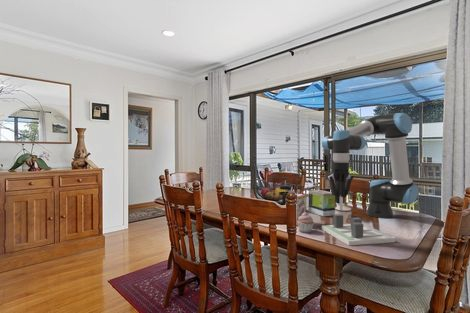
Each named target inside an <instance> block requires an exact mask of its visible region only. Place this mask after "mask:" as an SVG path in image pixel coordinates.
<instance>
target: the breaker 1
mask: <svg viewBox="0 0 470 313" xmlns="http://www.w3.org/2000/svg"><path fill="white" fill-rule="evenodd" d="M332 225H333V226H335V227H343V215H341V214H333V216H332Z"/></svg>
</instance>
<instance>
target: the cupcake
mask: <svg viewBox="0 0 470 313" xmlns="http://www.w3.org/2000/svg"><path fill="white" fill-rule="evenodd" d="M314 225H315V222H314V219H313V218H312V216H311V215H310V214H308V213H307V211H306V212H305V213H303V214H302V215H301V216H300V217H299V218H298V220H297V225H296V226H297V227H298V231H299V232H301V233H307V234H308V233H311V232H312V231H313V226H314Z"/></svg>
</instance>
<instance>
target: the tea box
mask: <svg viewBox="0 0 470 313" xmlns="http://www.w3.org/2000/svg"><path fill="white" fill-rule="evenodd" d="M335 207H336V196H334V195H332V192H331V191H327V190H321V189H313V190H308V212H309V213H312V214H315V215H318V216H321V217H331V216H332V217H333V214H335Z"/></svg>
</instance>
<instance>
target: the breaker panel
mask: <svg viewBox="0 0 470 313" xmlns="http://www.w3.org/2000/svg"><path fill="white" fill-rule="evenodd" d="M362 224H363V237H354V236H352V235H351V224H343V227H335V226H333V224H328V225H327V224H326V225H321V230H323V231H324V232H325V231H326V232H325V233H327V234H329V235H330V234H331V236H332V237H333V238H336V239H337V240H339V241H341V242H342V243H344V244H345V245H347V246H359V245H374V244H387V243H396V237H395V236H393V235H390V234H387V233H385V232H383V231H381V230H378V229H377V228H373V227H371V226H370V225H367V224H364V223H362Z"/></svg>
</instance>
